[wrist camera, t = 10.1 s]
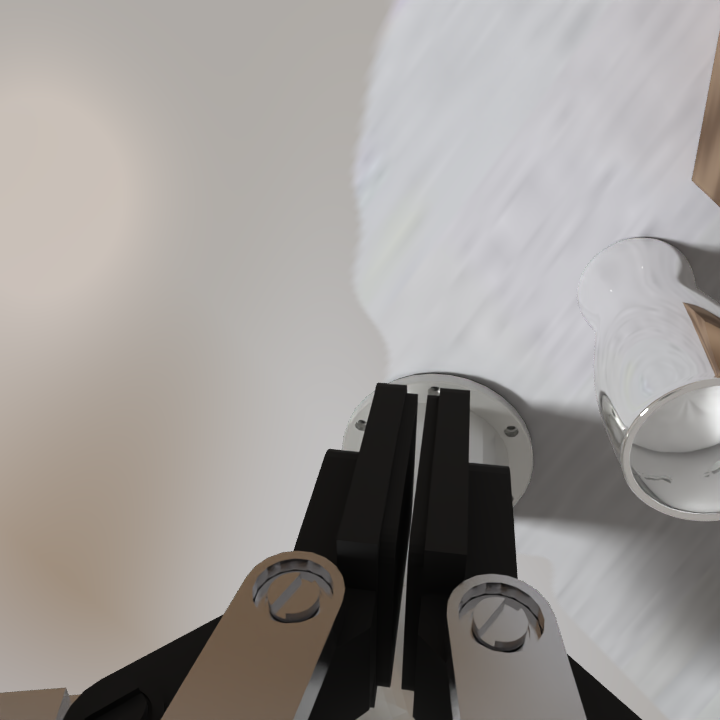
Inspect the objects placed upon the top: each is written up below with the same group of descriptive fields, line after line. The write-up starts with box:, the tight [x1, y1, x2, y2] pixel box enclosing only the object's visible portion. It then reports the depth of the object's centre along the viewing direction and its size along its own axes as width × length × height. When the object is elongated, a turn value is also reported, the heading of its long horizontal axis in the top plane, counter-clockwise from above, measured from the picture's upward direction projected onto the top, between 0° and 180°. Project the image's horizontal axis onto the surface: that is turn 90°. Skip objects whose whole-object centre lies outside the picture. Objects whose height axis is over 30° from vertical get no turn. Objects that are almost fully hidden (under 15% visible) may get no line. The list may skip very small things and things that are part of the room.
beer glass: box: [577, 238, 720, 521], centre depth 30 cm, size 7×7×15 cm
